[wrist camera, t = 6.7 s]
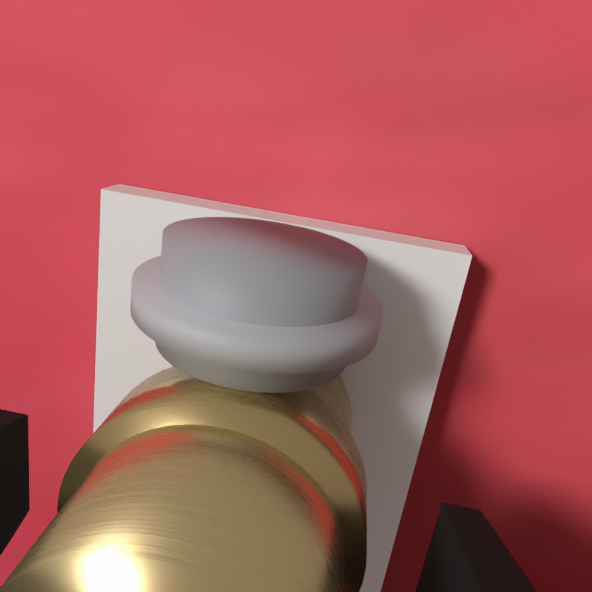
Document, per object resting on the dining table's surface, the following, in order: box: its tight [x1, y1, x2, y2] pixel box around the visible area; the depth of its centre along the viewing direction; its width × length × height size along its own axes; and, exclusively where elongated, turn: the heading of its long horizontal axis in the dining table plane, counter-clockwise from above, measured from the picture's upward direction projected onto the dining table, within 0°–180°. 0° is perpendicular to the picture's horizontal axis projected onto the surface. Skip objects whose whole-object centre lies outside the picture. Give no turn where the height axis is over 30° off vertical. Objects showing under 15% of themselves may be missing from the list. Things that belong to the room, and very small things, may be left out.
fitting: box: [93, 184, 472, 592], centre depth 10 cm, size 9×7×4 cm
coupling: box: [0, 366, 367, 592], centre depth 9 cm, size 5×5×6 cm
